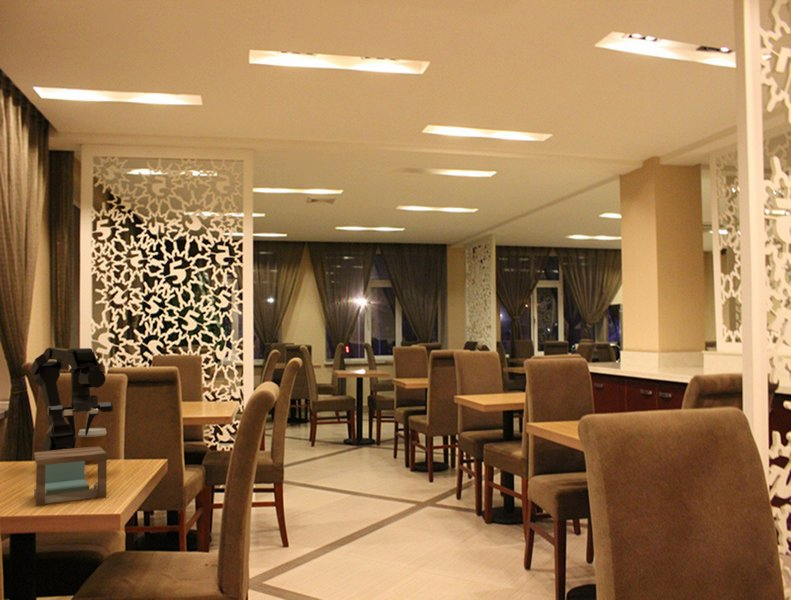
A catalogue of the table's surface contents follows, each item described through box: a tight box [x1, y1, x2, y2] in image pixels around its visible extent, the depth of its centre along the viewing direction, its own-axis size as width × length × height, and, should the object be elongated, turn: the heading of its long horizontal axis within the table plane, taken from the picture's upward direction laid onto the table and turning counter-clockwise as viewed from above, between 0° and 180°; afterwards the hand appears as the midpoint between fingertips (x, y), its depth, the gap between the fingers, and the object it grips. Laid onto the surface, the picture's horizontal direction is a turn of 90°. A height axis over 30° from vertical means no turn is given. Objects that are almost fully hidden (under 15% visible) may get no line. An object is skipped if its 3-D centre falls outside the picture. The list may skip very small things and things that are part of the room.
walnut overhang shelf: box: [33, 446, 108, 507], centre depth 185 cm, size 16×17×12 cm
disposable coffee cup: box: [77, 427, 108, 466], centre depth 239 cm, size 10×10×12 cm
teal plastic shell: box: [45, 461, 90, 495], centre depth 195 cm, size 14×11×9 cm
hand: (80, 435), depth 214 cm, fingers open, 3 cm apart
